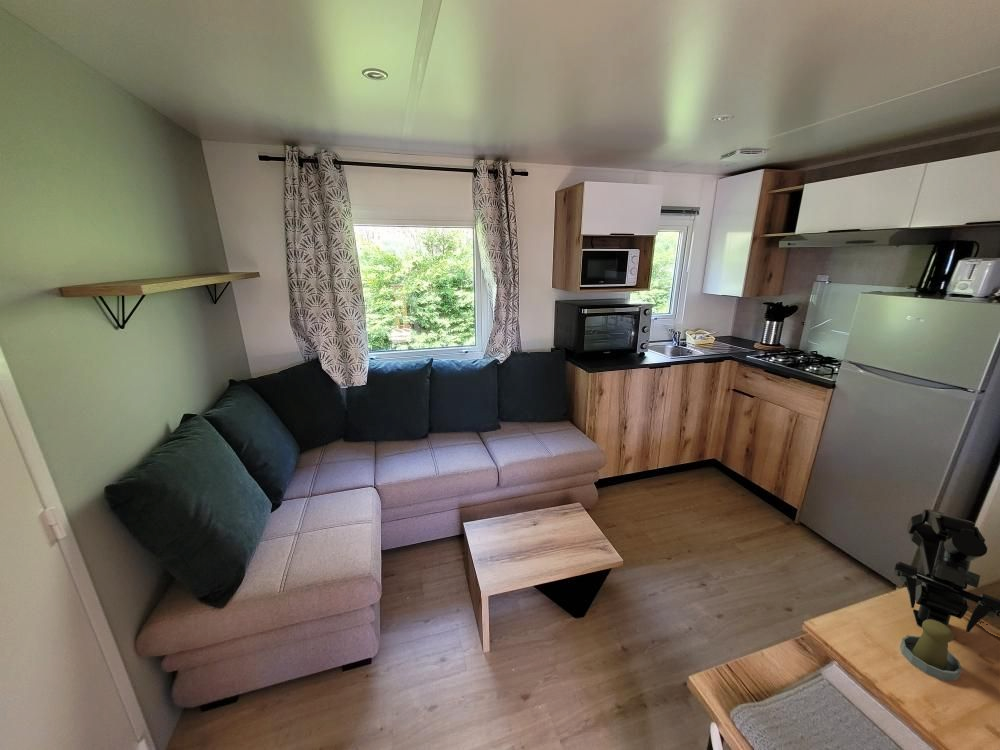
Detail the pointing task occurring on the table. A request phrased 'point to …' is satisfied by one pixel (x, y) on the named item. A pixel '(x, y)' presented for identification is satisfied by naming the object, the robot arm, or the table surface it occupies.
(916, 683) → the table surface
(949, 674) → the gray bowl
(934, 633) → the cork
